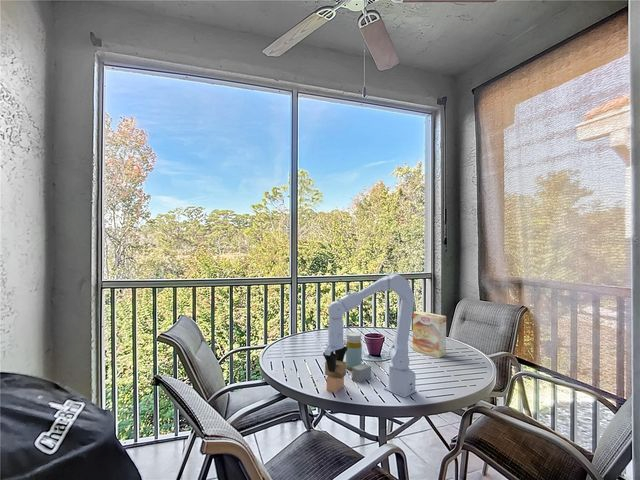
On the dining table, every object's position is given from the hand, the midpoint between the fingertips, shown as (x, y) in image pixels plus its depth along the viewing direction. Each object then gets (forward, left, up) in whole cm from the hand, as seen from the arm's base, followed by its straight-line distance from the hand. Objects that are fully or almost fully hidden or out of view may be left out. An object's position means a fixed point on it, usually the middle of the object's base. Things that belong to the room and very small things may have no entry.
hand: (335, 368), depth 130 cm
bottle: (+9, -20, -8) cm, 23 cm away
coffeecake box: (-2, -64, -8) cm, 65 cm away
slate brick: (-1, -14, -8) cm, 16 cm away
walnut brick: (0, 0, -2) cm, 2 cm away
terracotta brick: (0, 0, -8) cm, 8 cm away
